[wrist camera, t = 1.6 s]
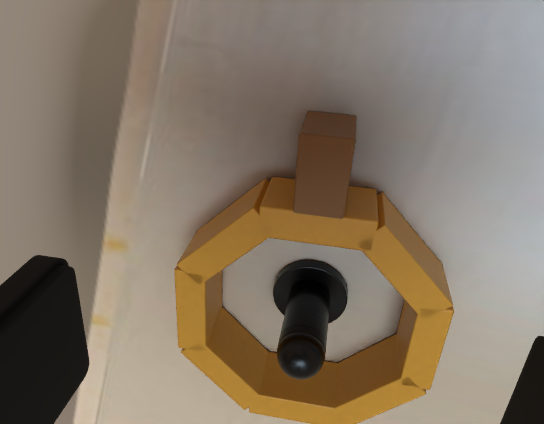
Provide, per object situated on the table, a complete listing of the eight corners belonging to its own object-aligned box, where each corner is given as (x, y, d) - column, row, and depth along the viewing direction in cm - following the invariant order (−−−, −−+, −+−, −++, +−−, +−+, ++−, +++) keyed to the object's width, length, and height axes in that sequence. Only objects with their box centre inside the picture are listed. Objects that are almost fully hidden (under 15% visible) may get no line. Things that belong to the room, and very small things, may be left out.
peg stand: (277, 254, 23) (255, 330, 18) (352, 265, 22) (349, 345, 18) (272, 312, 25) (251, 396, 20) (342, 323, 24) (337, 411, 19)
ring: (191, 98, 20) (166, 118, 17) (482, 128, 19) (502, 155, 16) (197, 357, 27) (180, 400, 24) (409, 393, 26) (414, 443, 23)
